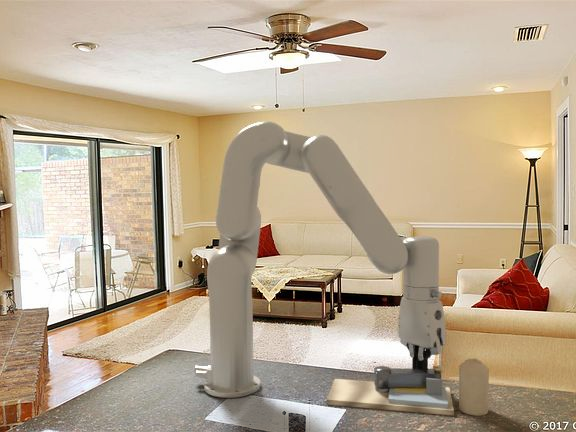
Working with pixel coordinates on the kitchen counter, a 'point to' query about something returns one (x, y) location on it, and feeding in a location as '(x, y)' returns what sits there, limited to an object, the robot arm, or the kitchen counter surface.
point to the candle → (473, 387)
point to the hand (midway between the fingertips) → (419, 375)
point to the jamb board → (376, 398)
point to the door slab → (421, 394)
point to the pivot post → (382, 389)
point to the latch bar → (404, 376)
